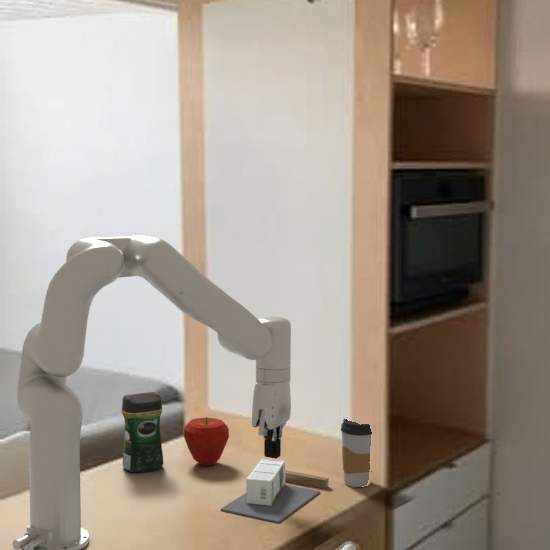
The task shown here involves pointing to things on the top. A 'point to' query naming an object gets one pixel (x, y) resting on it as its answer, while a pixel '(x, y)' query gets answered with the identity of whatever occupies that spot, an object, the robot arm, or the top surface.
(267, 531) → the top surface
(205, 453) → the apple
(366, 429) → the coffee cup
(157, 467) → the coffee jar
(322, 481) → the strip
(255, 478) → the syrup box
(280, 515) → the mat
